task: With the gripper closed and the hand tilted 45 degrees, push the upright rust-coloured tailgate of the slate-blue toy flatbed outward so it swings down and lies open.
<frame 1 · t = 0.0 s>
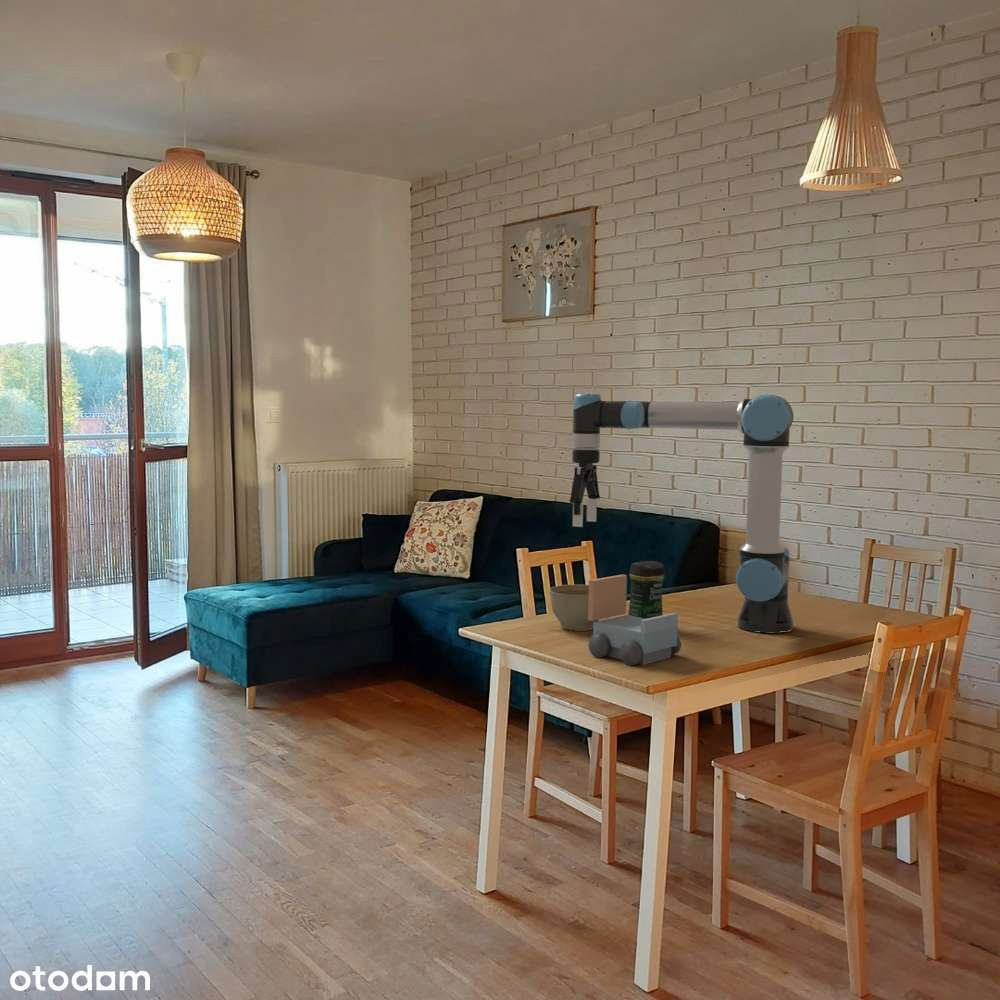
hand: (584, 524, 286), 28 cm above the table, tool pointing down, fingers open, 13 cm apart
planter bowl: (577, 628, 281), on the table
coffee jar: (645, 627, 283), on the table
tailgate: (607, 597, 256), point 13 cm above the table, hinge at 0.0°
flatbed: (634, 655, 250), on the table
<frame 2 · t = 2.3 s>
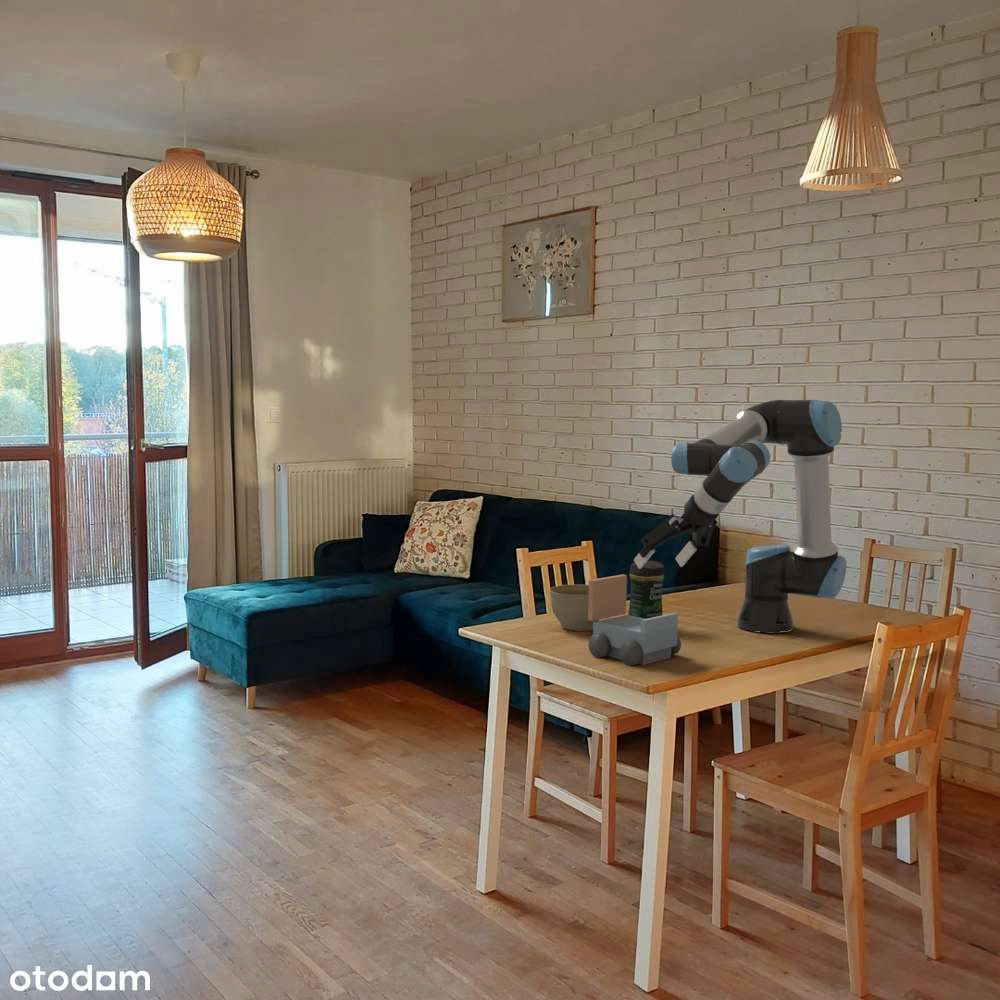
hand: (658, 563, 244), 24 cm above the table, tool tilted 45°, fingers open, 13 cm apart
nothing on the table moved.
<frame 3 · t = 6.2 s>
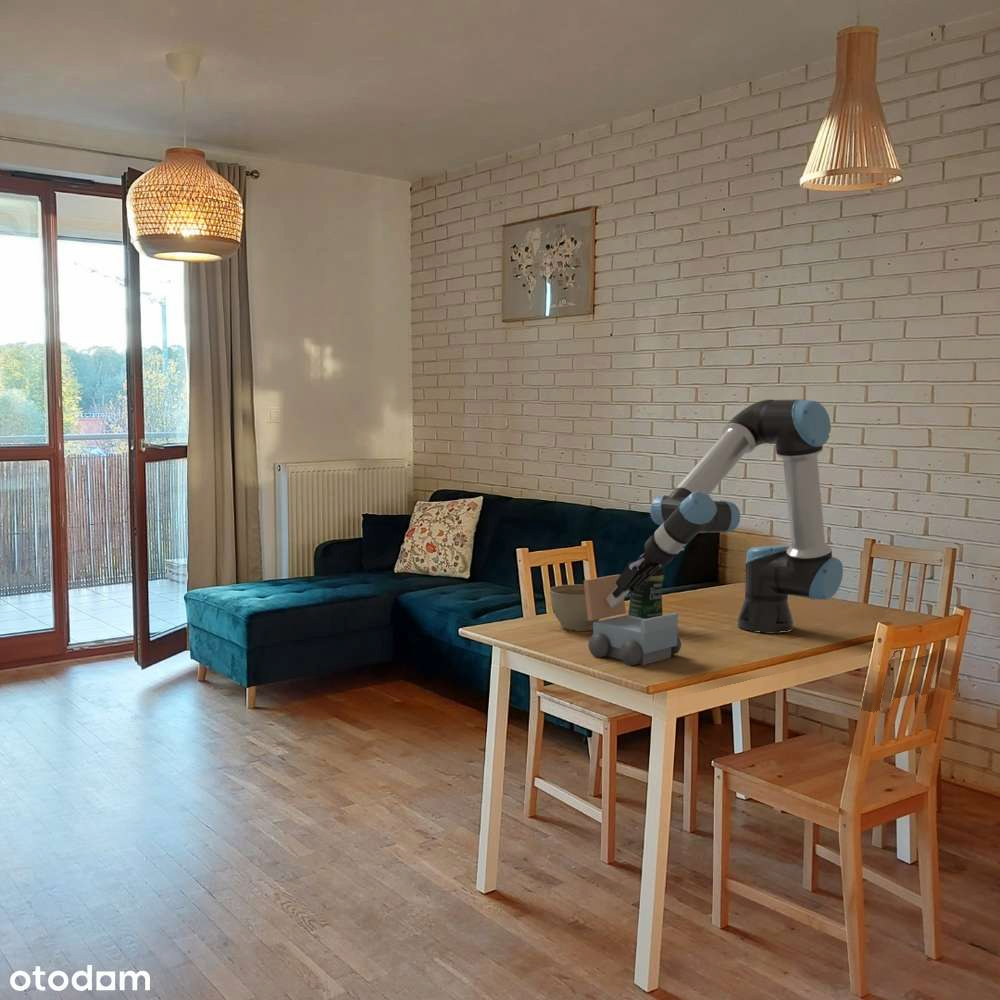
hand: (610, 602, 255), 12 cm above the table, tool tilted 45°, fingers closed
tailgate: (604, 597, 256), point 13 cm above the table, hinge at 10.1°, touching gripper
everything else where it was.
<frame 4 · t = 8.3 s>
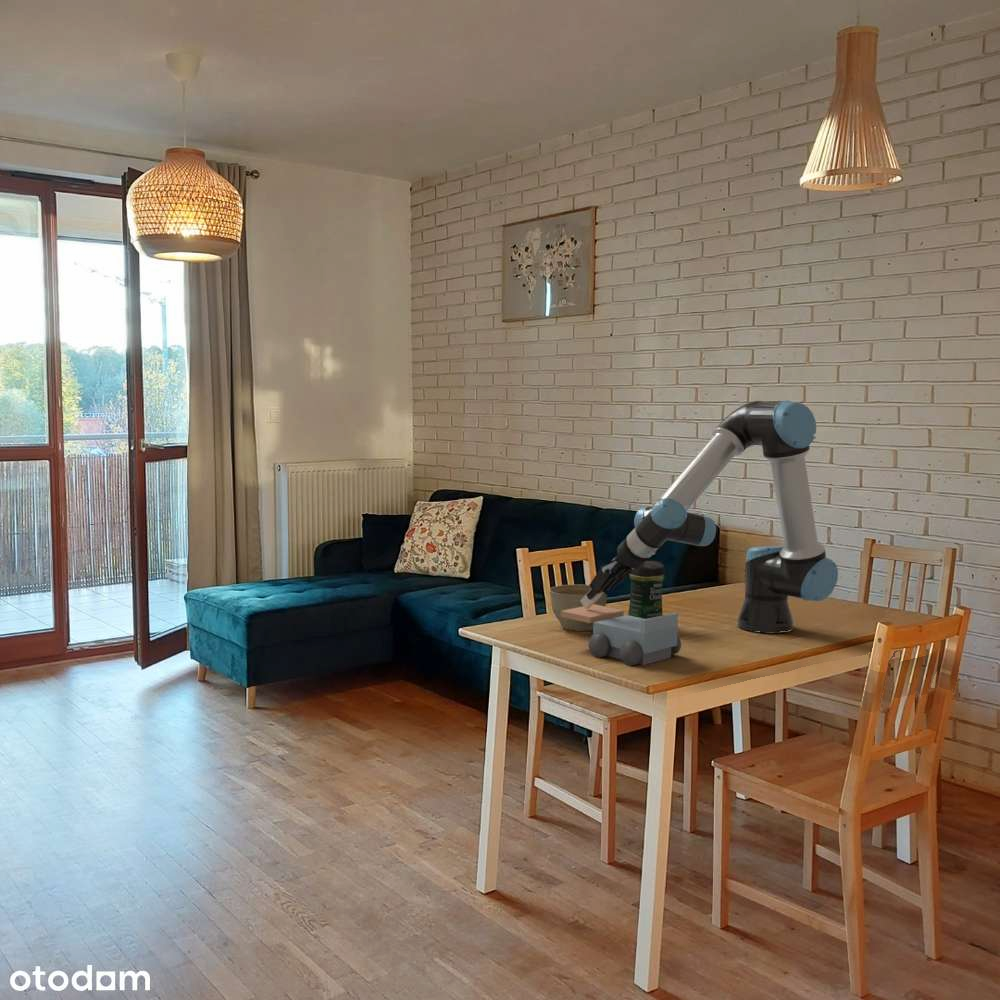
hand: (584, 604, 261), 10 cm above the table, tool tilted 45°, fingers closed
tailgate: (592, 614, 260), point 8 cm above the table, hinge at 89.7°, touching gripper
everything else where it was.
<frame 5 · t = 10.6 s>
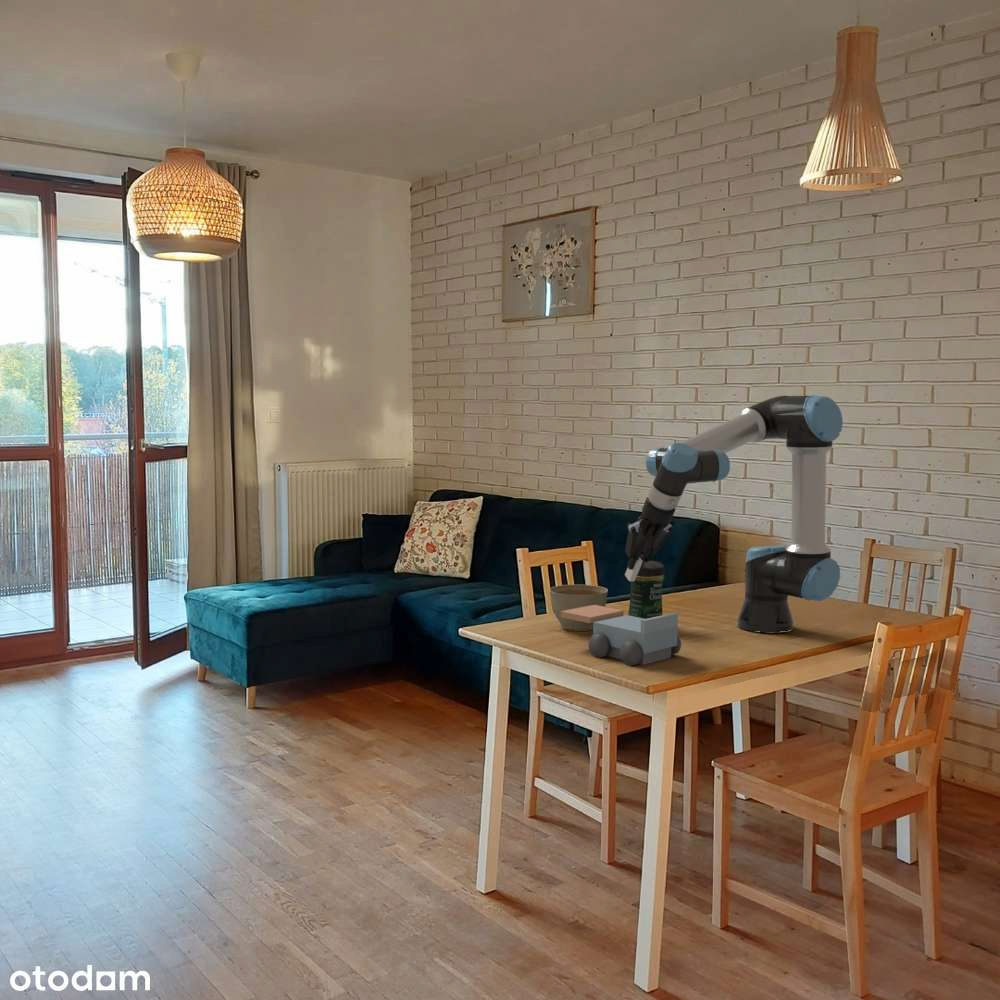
hand: (629, 577, 258), 18 cm above the table, tool tilted 30°, fingers closed
tailgate: (592, 614, 260), point 8 cm above the table, hinge at 90.4°
everything else where it was.
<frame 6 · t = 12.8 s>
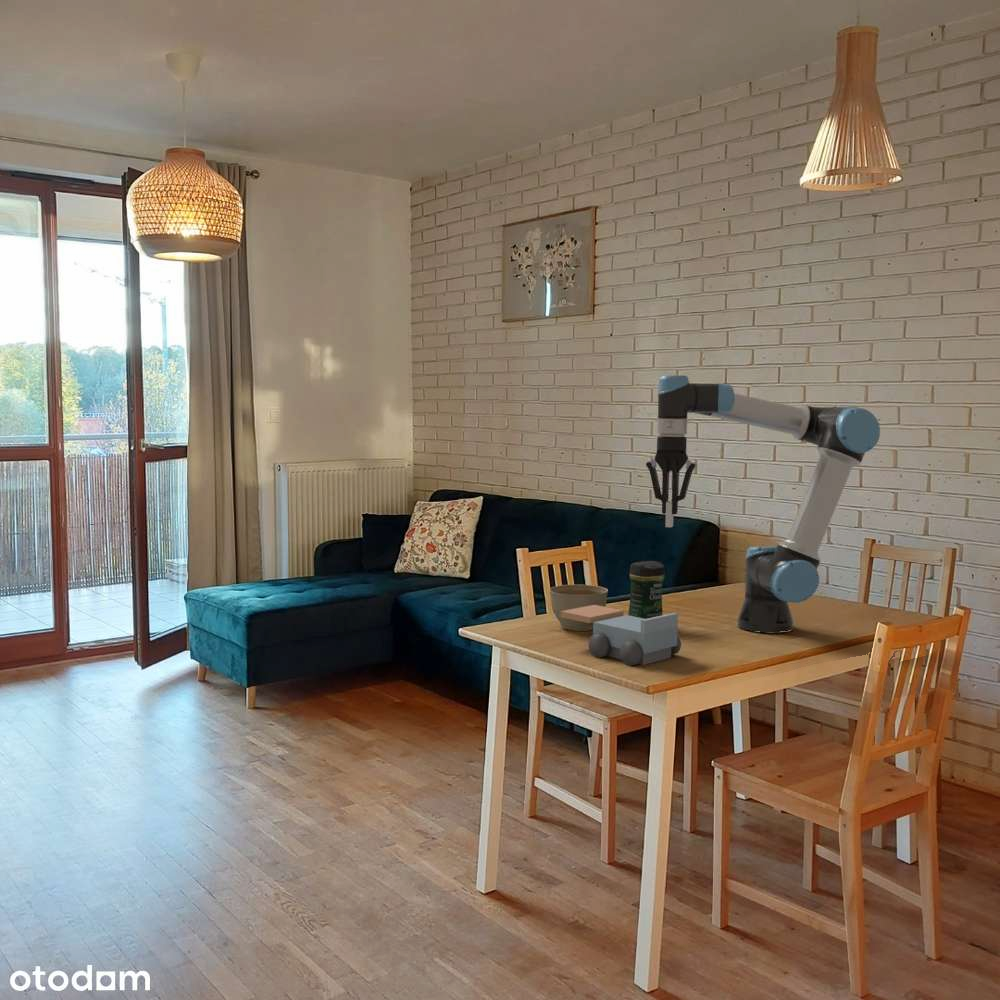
hand: (669, 526, 263), 30 cm above the table, tool pointing down, fingers closed
nothing on the table moved.
at the end: tailgate at +90° (first picture: +0°); tailgate touching nothing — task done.
